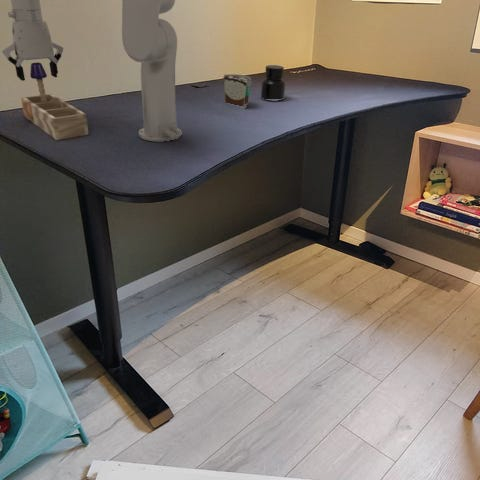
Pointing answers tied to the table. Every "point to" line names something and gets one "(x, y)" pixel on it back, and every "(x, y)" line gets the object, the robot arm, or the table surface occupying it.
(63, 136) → the rack
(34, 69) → the toy lamp
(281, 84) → the ink bottle
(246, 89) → the food container
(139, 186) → the table surface
